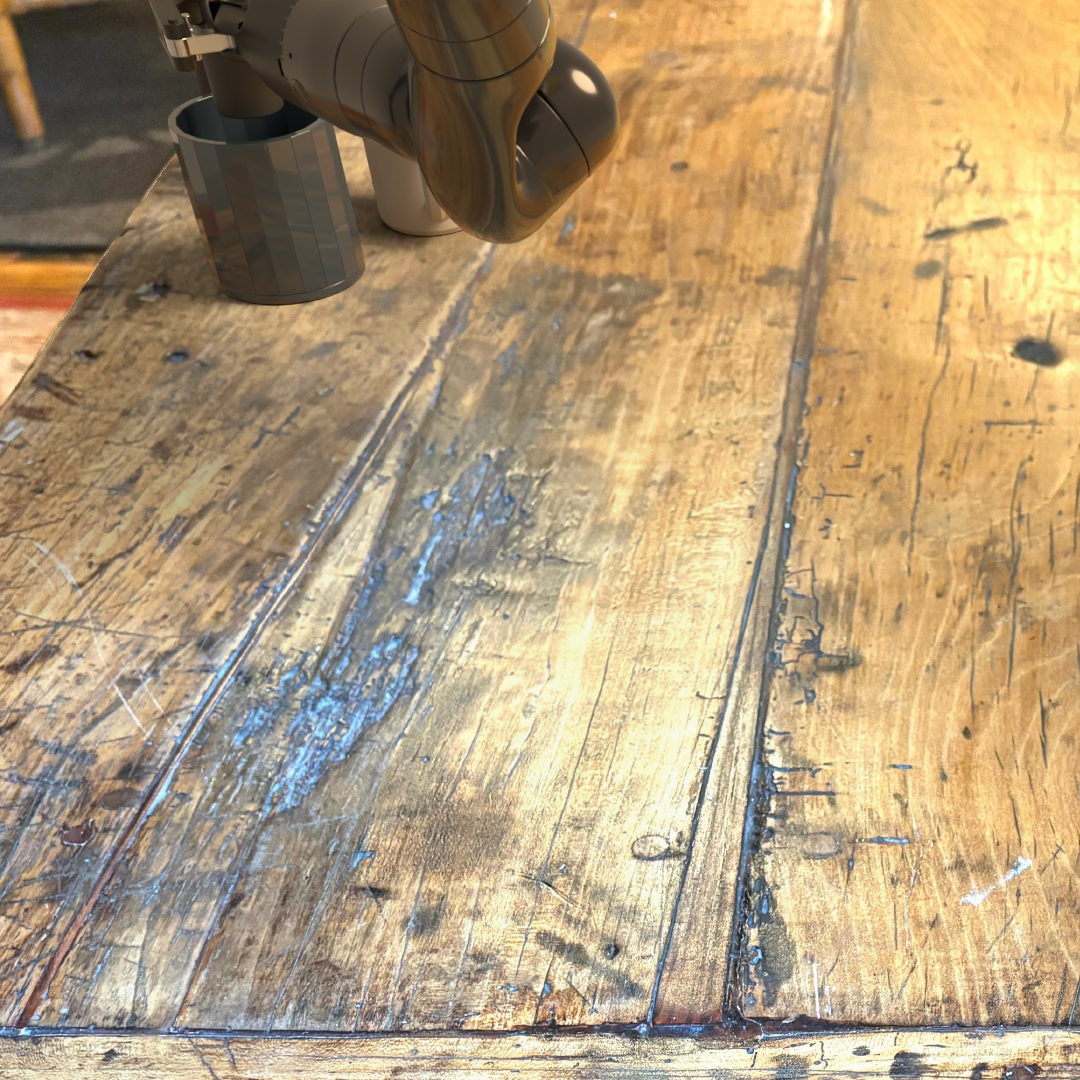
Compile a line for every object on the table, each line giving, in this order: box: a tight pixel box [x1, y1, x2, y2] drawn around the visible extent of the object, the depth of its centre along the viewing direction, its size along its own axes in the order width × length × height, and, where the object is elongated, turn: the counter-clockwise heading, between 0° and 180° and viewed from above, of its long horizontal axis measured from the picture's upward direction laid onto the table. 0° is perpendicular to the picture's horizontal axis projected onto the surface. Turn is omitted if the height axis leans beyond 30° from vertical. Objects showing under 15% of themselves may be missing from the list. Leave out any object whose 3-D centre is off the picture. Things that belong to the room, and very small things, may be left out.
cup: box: [362, 138, 464, 237], centre depth 122 cm, size 7×10×9 cm
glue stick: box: [200, 8, 284, 119], centre depth 108 cm, size 4×4×12 cm
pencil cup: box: [167, 93, 366, 305], centre depth 116 cm, size 10×10×10 cm
